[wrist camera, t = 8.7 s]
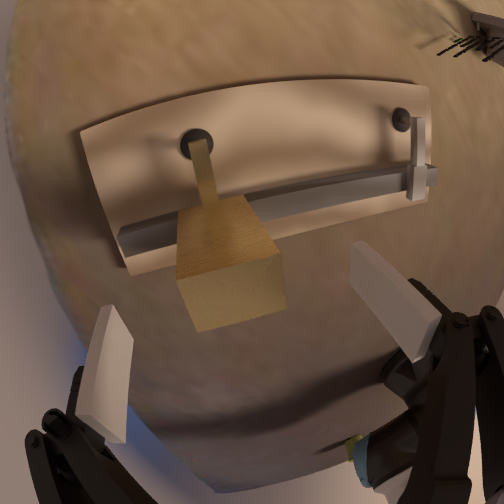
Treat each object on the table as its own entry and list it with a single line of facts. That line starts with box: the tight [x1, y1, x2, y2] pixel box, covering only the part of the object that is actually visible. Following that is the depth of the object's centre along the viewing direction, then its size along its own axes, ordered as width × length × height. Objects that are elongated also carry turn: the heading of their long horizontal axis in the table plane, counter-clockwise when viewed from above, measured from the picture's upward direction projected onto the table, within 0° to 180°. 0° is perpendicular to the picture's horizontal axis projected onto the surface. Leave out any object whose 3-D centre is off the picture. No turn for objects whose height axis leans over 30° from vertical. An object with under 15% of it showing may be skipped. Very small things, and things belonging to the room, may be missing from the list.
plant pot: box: [345, 435, 362, 463], centre depth 71 cm, size 9×9×9 cm
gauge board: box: [80, 79, 437, 276], centre depth 22 cm, size 14×34×4 cm, turn 99°
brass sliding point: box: [176, 139, 287, 333], centre depth 17 cm, size 8×5×11 cm, turn 9°
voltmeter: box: [437, 12, 504, 67], centre depth 15 cm, size 27×11×10 cm, turn 127°
